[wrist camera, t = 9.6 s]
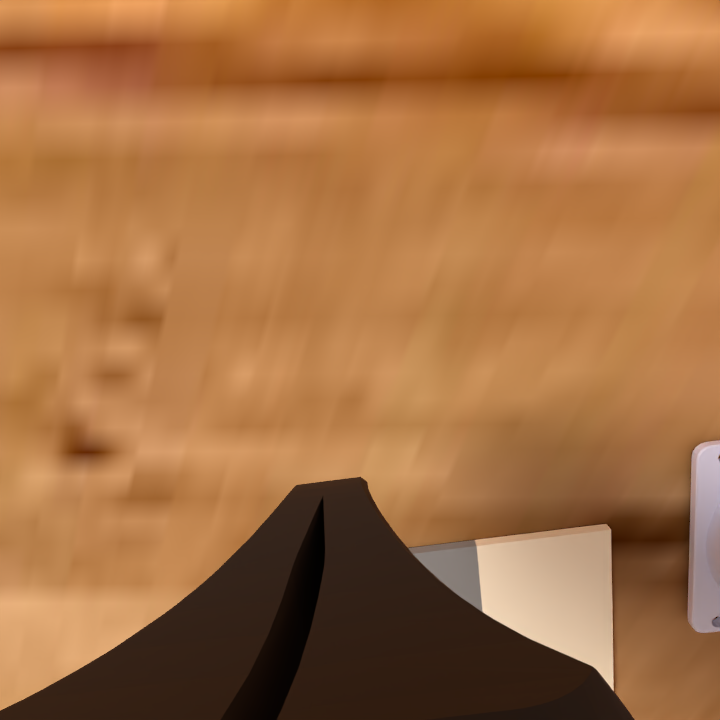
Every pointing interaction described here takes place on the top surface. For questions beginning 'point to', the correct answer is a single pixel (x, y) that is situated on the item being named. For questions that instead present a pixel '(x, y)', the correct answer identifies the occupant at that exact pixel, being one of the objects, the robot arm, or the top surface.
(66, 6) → the top surface
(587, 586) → the board
